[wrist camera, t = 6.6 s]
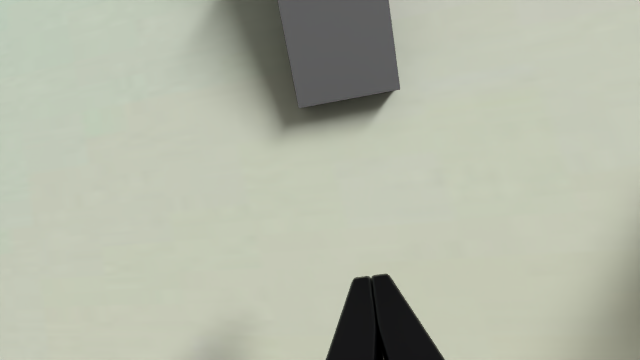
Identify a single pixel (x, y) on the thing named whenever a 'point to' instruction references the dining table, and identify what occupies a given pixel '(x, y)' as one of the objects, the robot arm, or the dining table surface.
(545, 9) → the dining table surface
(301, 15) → the domino
